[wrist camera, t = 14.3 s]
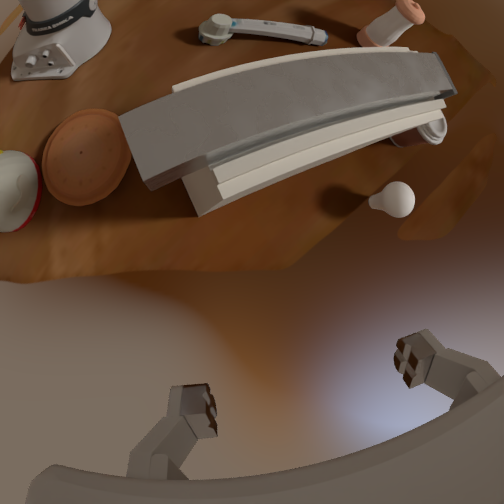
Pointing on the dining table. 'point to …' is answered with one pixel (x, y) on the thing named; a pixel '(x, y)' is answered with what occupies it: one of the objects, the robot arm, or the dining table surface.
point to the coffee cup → (422, 134)
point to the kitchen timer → (18, 190)
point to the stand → (301, 139)
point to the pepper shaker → (391, 24)
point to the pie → (86, 157)
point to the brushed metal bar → (270, 107)
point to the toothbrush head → (257, 30)
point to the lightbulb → (394, 199)
